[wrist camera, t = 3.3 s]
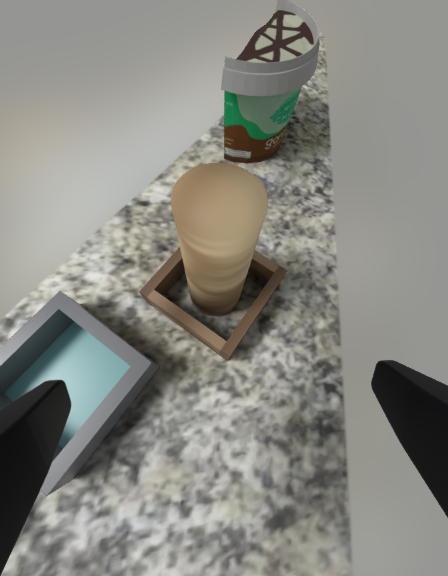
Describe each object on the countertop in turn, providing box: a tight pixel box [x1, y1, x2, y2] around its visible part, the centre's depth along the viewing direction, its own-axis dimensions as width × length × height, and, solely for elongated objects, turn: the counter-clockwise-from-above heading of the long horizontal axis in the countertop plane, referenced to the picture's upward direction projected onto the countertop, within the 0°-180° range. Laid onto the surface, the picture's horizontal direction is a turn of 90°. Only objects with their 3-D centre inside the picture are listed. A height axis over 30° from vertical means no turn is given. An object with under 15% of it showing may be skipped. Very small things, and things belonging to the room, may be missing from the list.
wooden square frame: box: [139, 247, 287, 360], centre depth 22 cm, size 9×9×2 cm
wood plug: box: [171, 163, 268, 316], centre depth 17 cm, size 4×4×12 cm
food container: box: [221, 0, 320, 163], centre depth 26 cm, size 12×6×10 cm, turn 154°
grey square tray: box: [0, 291, 160, 496], centre depth 18 cm, size 9×9×3 cm
